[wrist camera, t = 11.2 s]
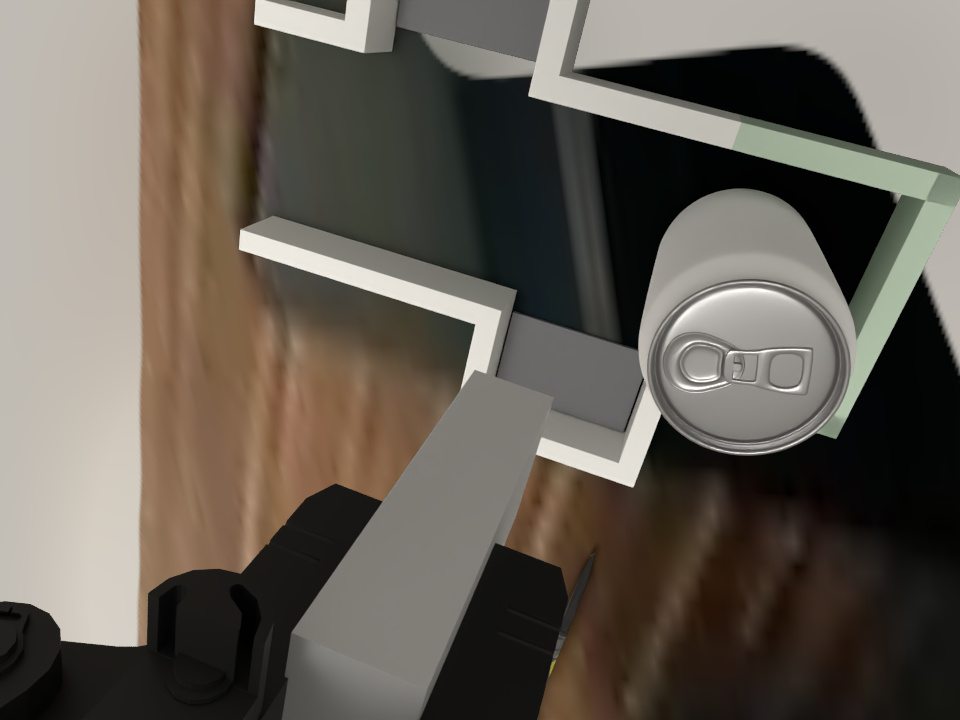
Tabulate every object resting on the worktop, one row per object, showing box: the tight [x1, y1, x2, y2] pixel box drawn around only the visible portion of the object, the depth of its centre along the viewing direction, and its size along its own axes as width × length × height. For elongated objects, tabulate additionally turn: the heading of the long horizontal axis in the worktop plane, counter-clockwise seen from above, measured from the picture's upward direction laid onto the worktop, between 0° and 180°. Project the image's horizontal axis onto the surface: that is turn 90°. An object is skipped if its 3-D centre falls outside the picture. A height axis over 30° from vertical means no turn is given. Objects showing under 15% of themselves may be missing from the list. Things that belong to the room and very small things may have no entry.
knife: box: [547, 553, 595, 681], centre depth 44 cm, size 23×2×5 cm, turn 165°
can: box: [638, 189, 856, 456], centre depth 27 cm, size 6×6×12 cm
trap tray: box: [239, 0, 960, 487], centre depth 32 cm, size 28×22×3 cm
